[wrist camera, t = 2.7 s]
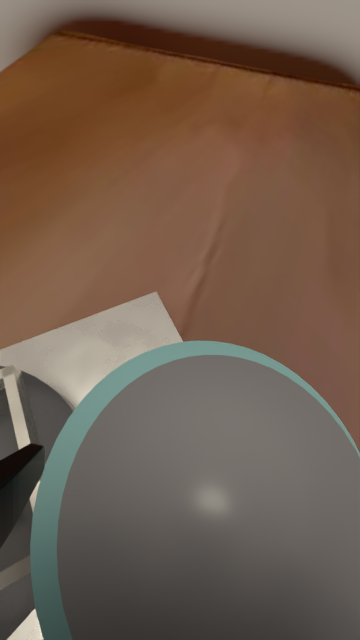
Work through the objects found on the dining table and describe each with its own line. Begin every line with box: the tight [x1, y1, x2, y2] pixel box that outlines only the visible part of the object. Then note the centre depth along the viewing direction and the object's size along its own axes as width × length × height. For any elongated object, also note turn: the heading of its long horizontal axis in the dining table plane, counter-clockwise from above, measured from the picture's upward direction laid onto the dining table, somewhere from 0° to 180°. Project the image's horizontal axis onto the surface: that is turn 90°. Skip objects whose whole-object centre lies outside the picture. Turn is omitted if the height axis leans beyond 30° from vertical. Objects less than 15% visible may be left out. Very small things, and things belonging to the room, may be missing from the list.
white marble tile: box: [0, 292, 183, 640], centre depth 13 cm, size 17×22×5 cm
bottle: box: [30, 341, 360, 640], centre depth 10 cm, size 6×6×13 cm
